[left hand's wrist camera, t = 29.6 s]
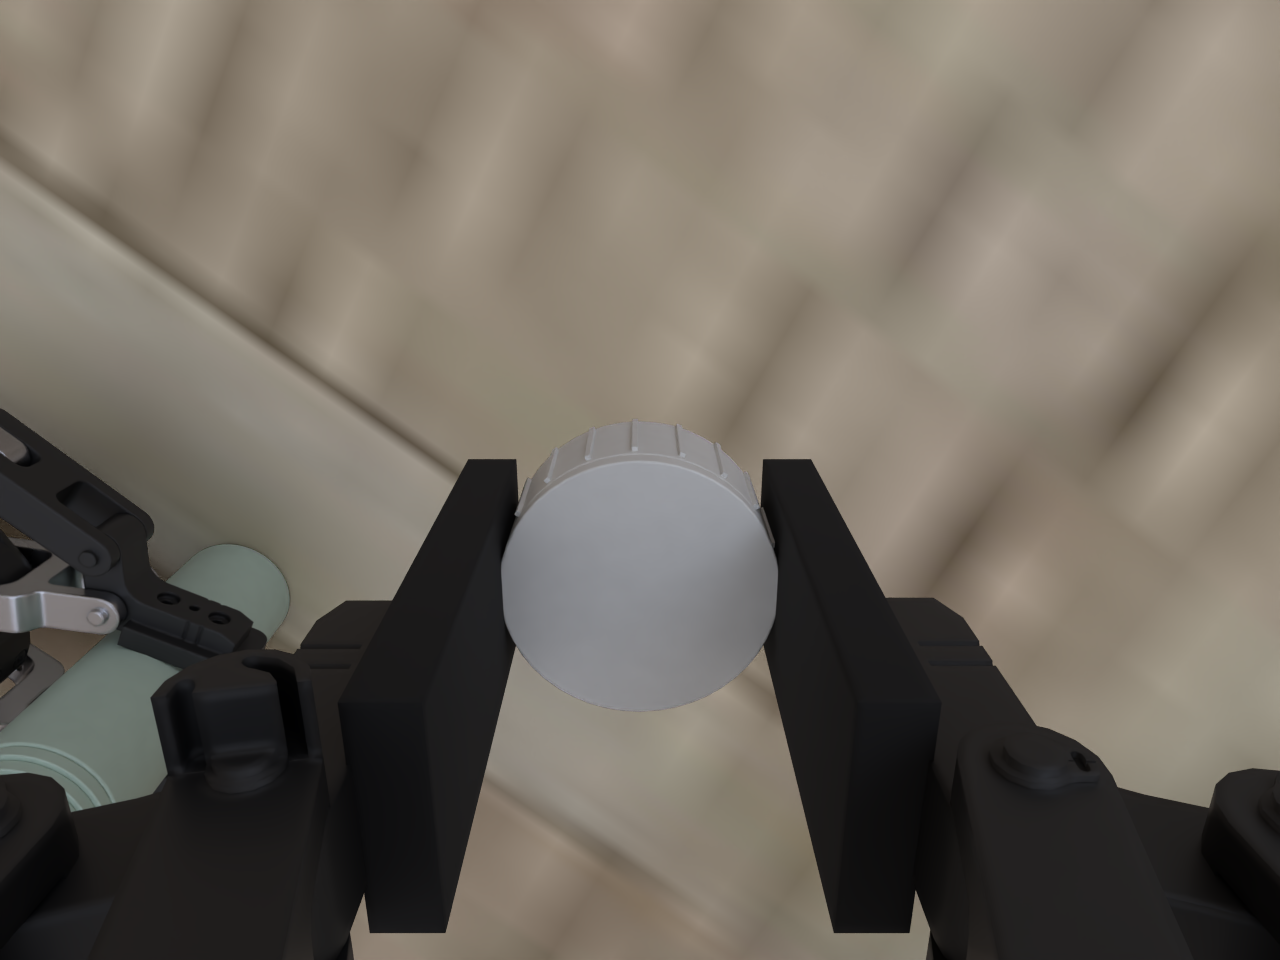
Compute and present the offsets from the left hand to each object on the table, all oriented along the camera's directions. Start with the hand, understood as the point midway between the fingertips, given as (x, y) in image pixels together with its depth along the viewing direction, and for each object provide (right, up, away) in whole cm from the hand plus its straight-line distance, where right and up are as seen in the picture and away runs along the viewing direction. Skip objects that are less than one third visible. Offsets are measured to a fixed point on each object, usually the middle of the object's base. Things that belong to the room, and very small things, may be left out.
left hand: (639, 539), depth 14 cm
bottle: (-16, -3, +20) cm, 26 cm away
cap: (0, 0, -2) cm, 2 cm away
